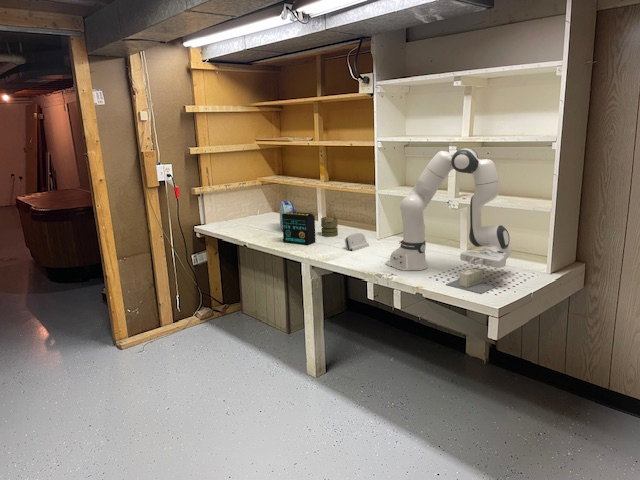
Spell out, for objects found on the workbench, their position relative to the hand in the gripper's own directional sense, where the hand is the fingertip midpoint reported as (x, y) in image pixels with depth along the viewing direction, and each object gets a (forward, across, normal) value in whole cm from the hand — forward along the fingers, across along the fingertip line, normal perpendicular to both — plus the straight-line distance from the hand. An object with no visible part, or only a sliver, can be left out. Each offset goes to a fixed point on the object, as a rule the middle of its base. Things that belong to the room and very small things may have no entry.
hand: (473, 262), depth 218 cm
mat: (+1, 0, +11) cm, 11 cm away
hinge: (-16, -89, +11) cm, 91 cm away
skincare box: (-7, 0, +8) cm, 10 cm away
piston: (-29, -128, +11) cm, 132 cm away
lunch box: (-22, -166, +11) cm, 168 cm away
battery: (-1, -127, +11) cm, 127 cm away
